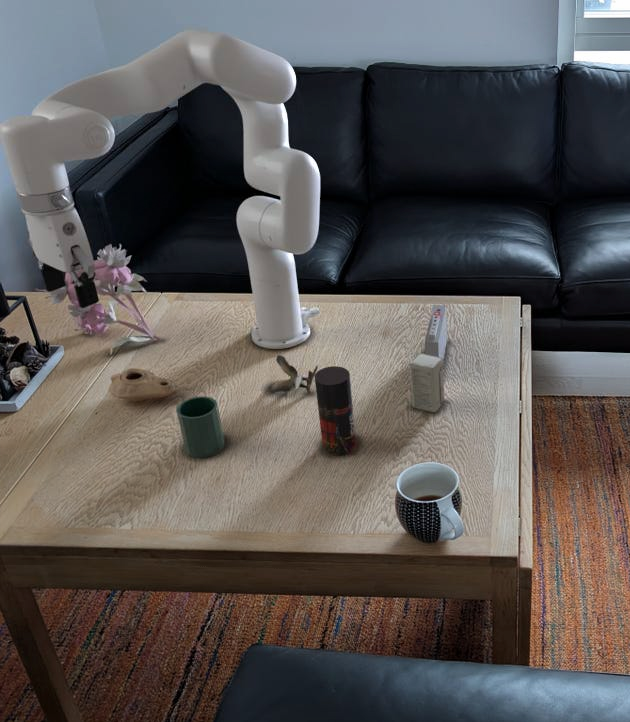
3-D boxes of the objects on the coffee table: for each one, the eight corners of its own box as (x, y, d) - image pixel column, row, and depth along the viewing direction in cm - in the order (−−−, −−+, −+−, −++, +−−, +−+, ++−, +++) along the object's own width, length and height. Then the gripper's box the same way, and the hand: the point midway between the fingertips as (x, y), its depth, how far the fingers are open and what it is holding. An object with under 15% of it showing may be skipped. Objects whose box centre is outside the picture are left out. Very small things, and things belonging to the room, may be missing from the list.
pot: (210, 430, 153) (202, 391, 149) (232, 445, 149) (225, 406, 145) (177, 447, 149) (168, 408, 144) (199, 462, 145) (190, 423, 141)
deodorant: (324, 436, 152) (315, 366, 144) (356, 434, 152) (350, 365, 144) (321, 456, 147) (313, 385, 139) (355, 454, 147) (348, 384, 139)
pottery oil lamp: (166, 411, 157) (140, 388, 153) (122, 416, 163) (96, 394, 158) (185, 375, 163) (161, 352, 158) (143, 380, 168) (118, 359, 164)
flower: (171, 297, 195) (98, 213, 180) (195, 329, 177) (116, 238, 163) (99, 350, 191) (18, 269, 176) (116, 388, 173) (28, 301, 158)
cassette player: (434, 341, 181) (433, 300, 176) (446, 342, 181) (446, 301, 176) (425, 380, 168) (424, 337, 163) (439, 380, 168) (438, 337, 163)
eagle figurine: (321, 373, 168) (279, 361, 168) (316, 359, 161) (272, 346, 162) (307, 407, 165) (264, 395, 165) (301, 394, 158) (257, 381, 159)
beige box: (445, 401, 162) (444, 357, 156) (434, 413, 158) (433, 369, 153) (421, 395, 163) (420, 351, 158) (410, 407, 160) (409, 362, 155)
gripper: (100, 203, 128) (123, 302, 137) (38, 180, 136) (64, 275, 145) (54, 218, 123) (81, 320, 131) (-7, 193, 131) (23, 290, 140)
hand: (72, 296), depth 138 cm, fingers open, 9 cm apart
